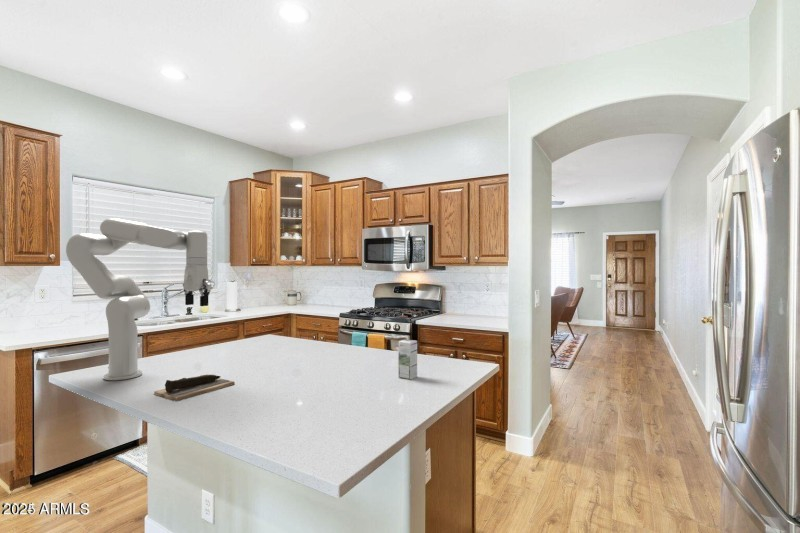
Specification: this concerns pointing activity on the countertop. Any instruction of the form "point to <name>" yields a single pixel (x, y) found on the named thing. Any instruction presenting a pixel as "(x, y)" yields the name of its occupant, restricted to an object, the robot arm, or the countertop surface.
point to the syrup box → (407, 359)
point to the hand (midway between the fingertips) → (196, 305)
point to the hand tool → (189, 382)
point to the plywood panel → (194, 389)
